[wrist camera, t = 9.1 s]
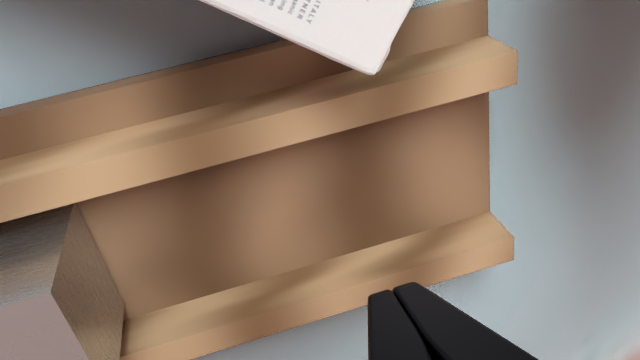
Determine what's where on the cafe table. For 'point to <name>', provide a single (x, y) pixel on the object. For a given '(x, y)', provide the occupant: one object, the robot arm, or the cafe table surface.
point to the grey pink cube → (56, 290)
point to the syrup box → (329, 26)
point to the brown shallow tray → (273, 180)
